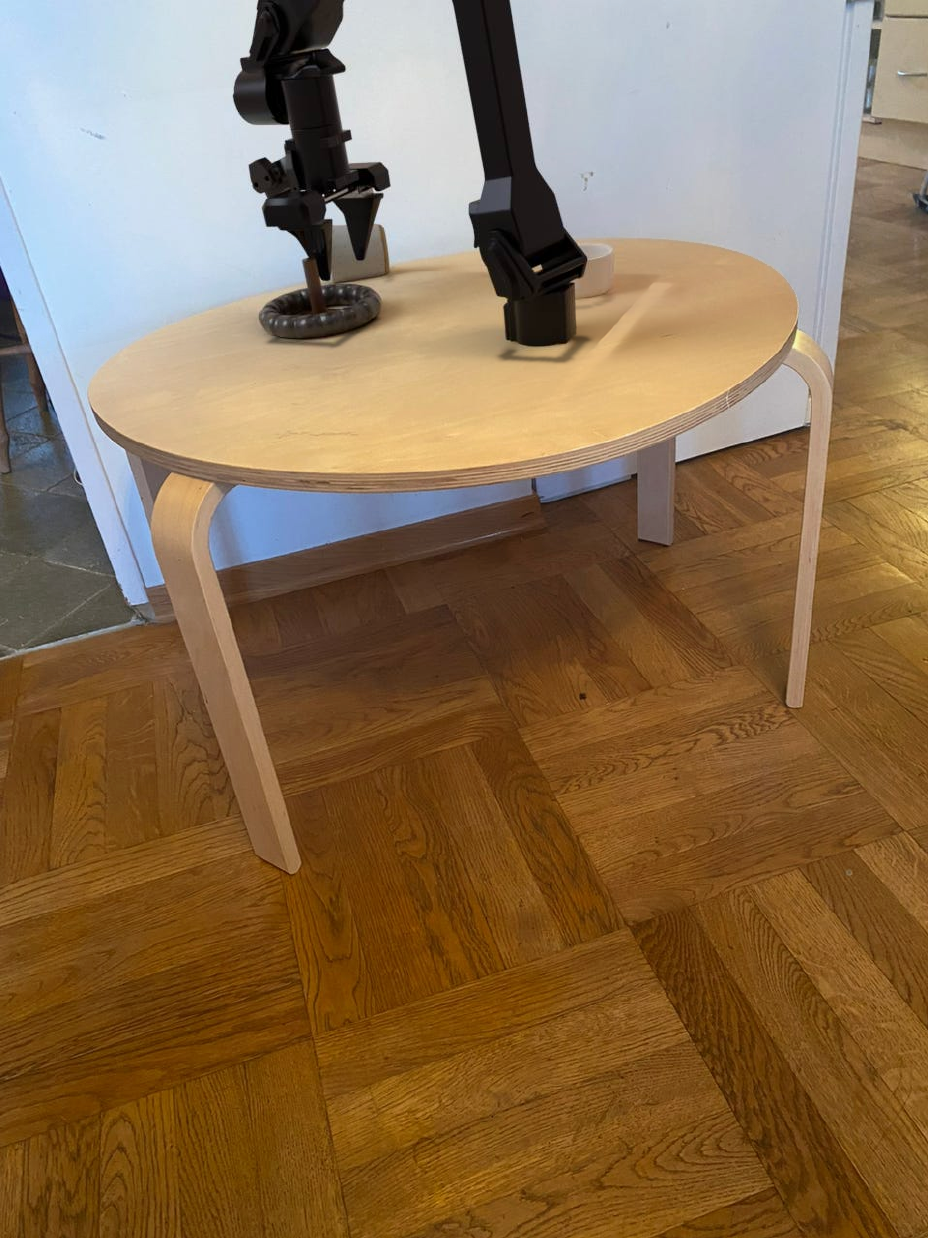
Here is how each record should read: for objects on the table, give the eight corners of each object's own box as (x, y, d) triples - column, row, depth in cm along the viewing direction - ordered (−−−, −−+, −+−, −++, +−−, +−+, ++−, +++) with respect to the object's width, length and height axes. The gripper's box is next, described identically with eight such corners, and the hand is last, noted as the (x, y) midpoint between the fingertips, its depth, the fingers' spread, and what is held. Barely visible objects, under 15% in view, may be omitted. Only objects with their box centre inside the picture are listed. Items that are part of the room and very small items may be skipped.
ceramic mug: (394, 283, 117) (385, 222, 113) (334, 293, 116) (322, 232, 112) (385, 266, 126) (377, 209, 121) (329, 275, 125) (319, 218, 120)
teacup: (621, 304, 99) (620, 255, 96) (554, 313, 99) (552, 264, 96) (602, 281, 108) (601, 235, 104) (541, 289, 108) (538, 244, 104)
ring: (403, 302, 105) (400, 282, 104) (341, 343, 95) (337, 321, 94) (306, 299, 111) (302, 280, 110) (237, 338, 101) (232, 317, 100)
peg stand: (374, 319, 105) (362, 248, 100) (334, 345, 99) (320, 270, 94) (312, 317, 109) (298, 248, 104) (271, 341, 103) (253, 269, 98)
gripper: (303, 113, 106) (329, 247, 115) (206, 145, 93) (244, 293, 102) (381, 107, 101) (402, 248, 111) (290, 140, 88) (323, 295, 98)
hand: (343, 270), depth 105 cm, fingers open, 8 cm apart
